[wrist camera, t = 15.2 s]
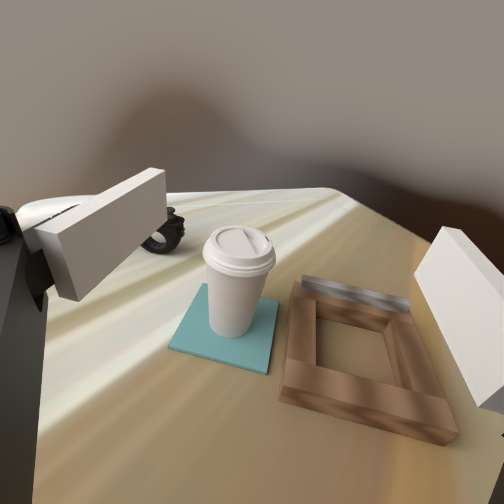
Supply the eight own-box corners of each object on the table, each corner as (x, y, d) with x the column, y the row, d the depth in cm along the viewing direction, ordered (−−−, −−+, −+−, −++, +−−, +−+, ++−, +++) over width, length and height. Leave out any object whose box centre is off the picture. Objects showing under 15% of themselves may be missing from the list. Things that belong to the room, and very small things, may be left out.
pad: (277, 304, 48) (278, 301, 48) (266, 374, 36) (266, 372, 36) (202, 285, 49) (202, 283, 49) (167, 348, 38) (167, 345, 37)
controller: (180, 261, 54) (180, 216, 49) (120, 250, 54) (113, 204, 49) (186, 249, 58) (187, 206, 53) (130, 239, 58) (124, 195, 53)
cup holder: (399, 322, 49) (414, 299, 46) (443, 446, 32) (470, 424, 29) (290, 295, 50) (297, 272, 47) (278, 400, 34) (287, 375, 31)
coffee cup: (258, 351, 39) (279, 268, 30) (192, 342, 38) (195, 255, 30) (261, 304, 47) (278, 228, 38) (206, 296, 46) (211, 217, 38)
